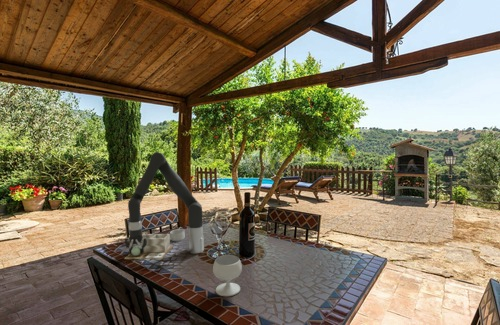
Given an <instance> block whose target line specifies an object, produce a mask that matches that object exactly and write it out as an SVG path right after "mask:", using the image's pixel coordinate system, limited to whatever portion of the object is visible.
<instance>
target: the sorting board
mask: <svg viewBox="0 0 500 325" xmlns="http://www.w3.org/2000/svg"><path fill="white" fill-rule="evenodd" d="M142 237H143V238H146V237H147V245H146V246H145V247H144V248H143V249H144V252H143V253H142V254H139V255H137V256H134V255H133V254H130V253H129V254H128V255H126V257H124V258H123V260H163V259H164V258H165V257H166V256H167V255H168V254H169V253H170V252H171V250H172V249H173V248H174V247H175V246H176V245H171V237H170V233H142ZM141 241H142V243H143V240H141ZM135 246H138V244H135ZM139 247H140V246H139Z"/></svg>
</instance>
